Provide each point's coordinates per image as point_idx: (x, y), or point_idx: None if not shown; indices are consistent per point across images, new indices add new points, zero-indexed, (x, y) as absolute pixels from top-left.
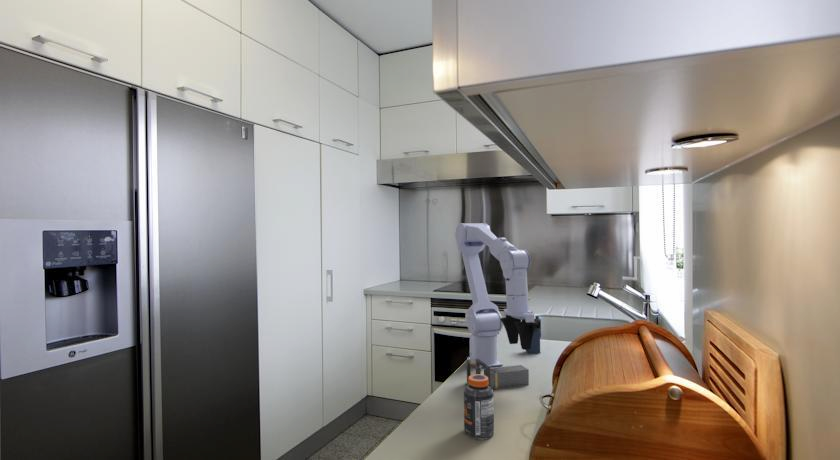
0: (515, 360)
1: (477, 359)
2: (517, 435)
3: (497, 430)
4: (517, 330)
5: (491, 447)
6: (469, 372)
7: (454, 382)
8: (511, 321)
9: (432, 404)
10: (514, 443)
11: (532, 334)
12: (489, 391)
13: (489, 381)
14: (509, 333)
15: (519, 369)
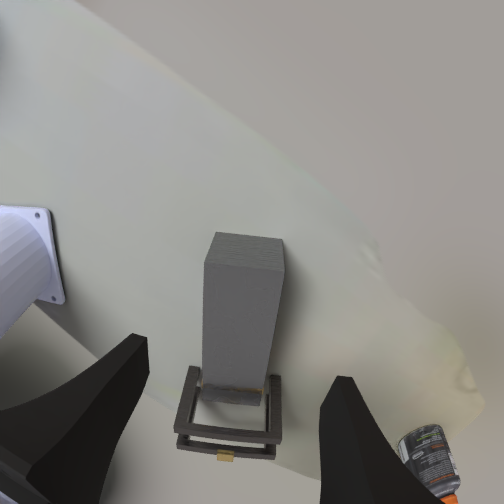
0: (10, 125)
1: (180, 431)
2: (466, 399)
3: (435, 417)
4: (99, 401)
5: (454, 430)
6: (193, 416)
7: (174, 405)
8: (81, 491)
9: (282, 461)
10: (472, 408)
11: (394, 459)
12: (458, 487)
13: (280, 402)
14: (120, 427)
15: (264, 306)
